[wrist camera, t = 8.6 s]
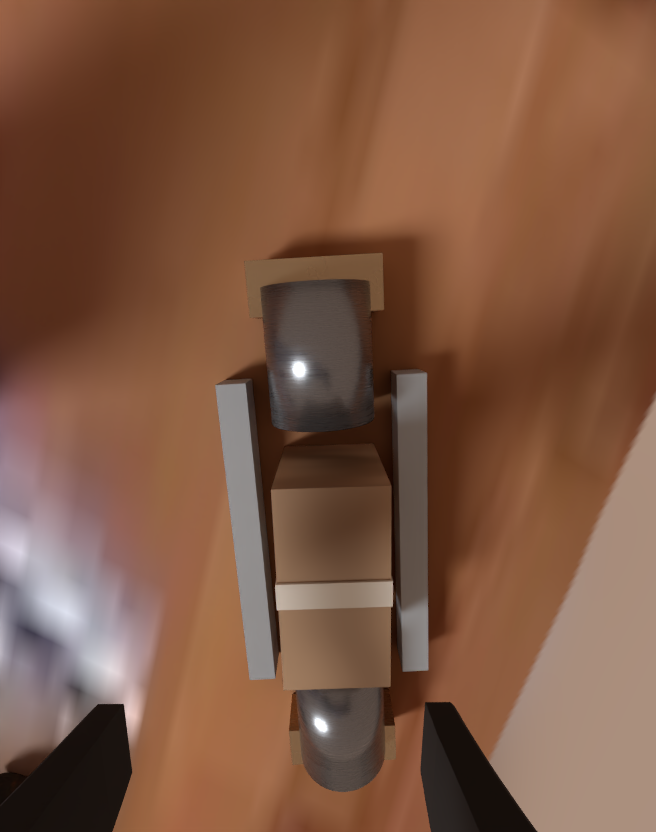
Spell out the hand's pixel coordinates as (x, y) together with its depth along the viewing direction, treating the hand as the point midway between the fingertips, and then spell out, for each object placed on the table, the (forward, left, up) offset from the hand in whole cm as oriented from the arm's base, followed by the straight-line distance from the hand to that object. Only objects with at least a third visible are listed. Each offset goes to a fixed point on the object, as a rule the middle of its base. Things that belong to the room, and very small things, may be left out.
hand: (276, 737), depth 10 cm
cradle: (0, +1, -10) cm, 10 cm away
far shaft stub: (+8, +1, -10) cm, 12 cm away
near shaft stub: (-8, +1, -10) cm, 13 cm away
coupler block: (0, +2, -10) cm, 10 cm away
